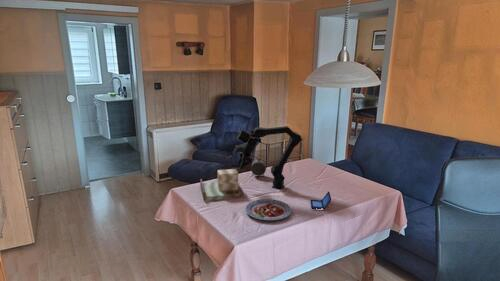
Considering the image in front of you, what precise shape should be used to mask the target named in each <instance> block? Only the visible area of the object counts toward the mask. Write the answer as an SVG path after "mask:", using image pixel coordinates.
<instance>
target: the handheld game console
mask: <svg viewBox="0 0 500 281" xmlns="http://www.w3.org/2000/svg"><path fill="white" fill-rule="evenodd" d="M331 201H332V197H331V193H330V191H327V193H326V194H325V195H324V197H323V198H321V199H310V209H311V208H312V209H316V208H317V209H321V208H323V209H326V208H327V207H328V205H330V203H331ZM312 209H311V210H312Z"/></svg>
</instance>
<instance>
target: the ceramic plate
mask: <svg viewBox="0 0 500 281" xmlns="http://www.w3.org/2000/svg"><path fill="white" fill-rule="evenodd" d="M244 209H245V212H246V213H247V215H248V216H250V217H252V218H254V219H257V220H263V221H278V220H282V219H285V218H287V217H289V216H290V215H291V213H292V207H291V206H290V205H289V204H288V203H287V202H285V201H282V200H278V199H272V198H260V199H255V200H252V201H250V202H248V203H247V204H246V205H245V208H244Z"/></svg>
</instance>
